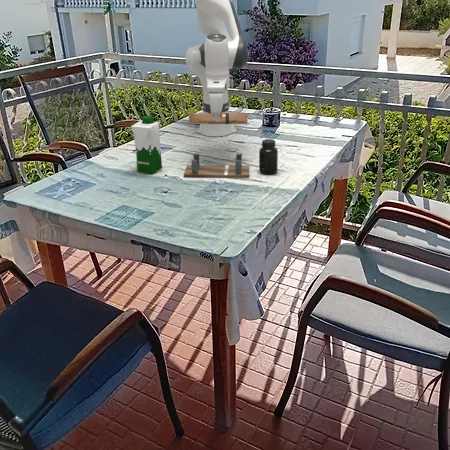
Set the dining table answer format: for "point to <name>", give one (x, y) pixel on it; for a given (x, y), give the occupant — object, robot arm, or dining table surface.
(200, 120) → the copper tube
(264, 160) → the supplement bottle
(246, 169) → the cradle board
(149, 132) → the milk carton
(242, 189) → the dining table surface
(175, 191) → the dining table surface
